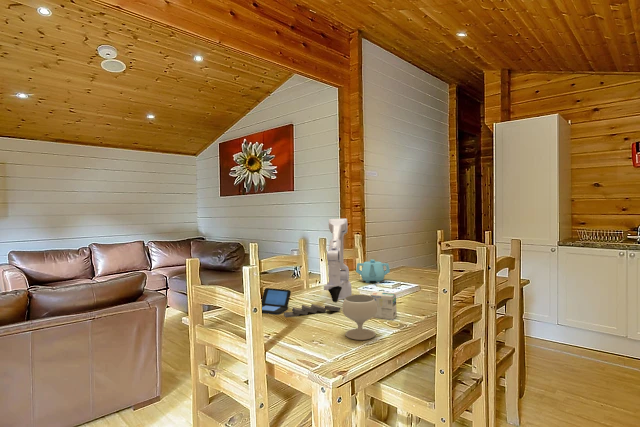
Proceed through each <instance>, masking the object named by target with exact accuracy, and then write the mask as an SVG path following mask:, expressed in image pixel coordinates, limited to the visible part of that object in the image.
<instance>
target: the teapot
mask: <svg viewBox="0 0 640 427" xmlns="http://www.w3.org/2000/svg"><path fill="white" fill-rule="evenodd" d="M360 266H361V270H360ZM384 267H385V269H386V270H385V269H384ZM355 272H356V273H357V274H359V275H360V276H361V280H362V281H365V284H370V283H371V282H375V283H376V284H378V283H377V282H383V280H384V279H385V276H387V275H388V274H389V273H391V269H390V264H389V263H388V262H387V263H385V262H381V261H378V260H377V261H376V259H372V258H371V259H369V261H363V262H361V263H360V262H357V264H356V269H355Z"/></svg>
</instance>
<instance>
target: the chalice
mask: <svg viewBox="0 0 640 427" xmlns="http://www.w3.org/2000/svg"><path fill="white" fill-rule="evenodd" d="M341 307H342V313H343V315H344V317H346V318H347V319H349V320H351V321H354V322H355V324H356V325H357V328H352V329H349V330H346V332H345V337H347V338H348V339H350V340H356V341H363V340H364V341H365V340H370V339H373V338H375V337H376V333H375V331H374V330H371V329H368V328H363V325H364V324H365V322H368V321H369V320H371V319H372V318H375V317H374V316H375V315H376V313H377V304H376V301H375V299H374V298H373V297H372V296H371V295H369V294H352V295H350V296H347V297H346V298H345V299H343V302H342V306H341Z"/></svg>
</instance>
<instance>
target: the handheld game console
mask: <svg viewBox="0 0 640 427" xmlns="http://www.w3.org/2000/svg"><path fill="white" fill-rule="evenodd" d="M291 293H292V290H290V289H283V288H281V289H280V288H271V287H265V289H264V290H263V294H262V298H261V301H262V312H263V313H262V314H268V313H269V314H270V315H281V314H282V313H283V314H284V313H285V312H286V311H288V309H289V303H290V298H291Z"/></svg>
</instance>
